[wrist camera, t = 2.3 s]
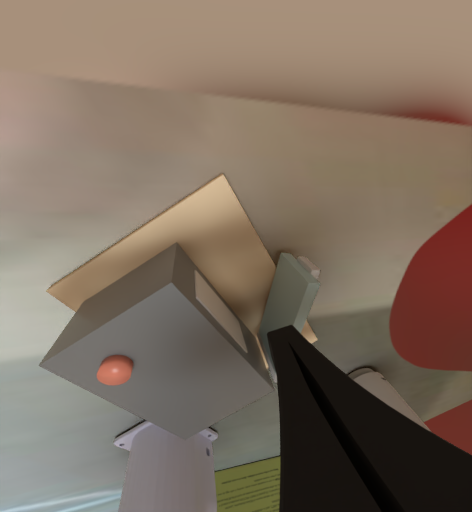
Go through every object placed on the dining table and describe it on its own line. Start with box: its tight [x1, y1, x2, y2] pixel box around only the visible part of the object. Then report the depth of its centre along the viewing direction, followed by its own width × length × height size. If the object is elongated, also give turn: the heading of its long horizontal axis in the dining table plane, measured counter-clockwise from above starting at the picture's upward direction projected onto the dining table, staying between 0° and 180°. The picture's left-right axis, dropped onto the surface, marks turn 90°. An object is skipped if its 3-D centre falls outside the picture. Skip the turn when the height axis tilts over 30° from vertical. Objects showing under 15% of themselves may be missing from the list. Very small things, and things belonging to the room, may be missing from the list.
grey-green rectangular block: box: [257, 253, 321, 383], centre depth 16 cm, size 9×2×4 cm, turn 170°
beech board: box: [46, 174, 317, 368], centre depth 18 cm, size 19×14×1 cm
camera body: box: [39, 242, 274, 440], centre depth 15 cm, size 13×8×6 cm, turn 30°
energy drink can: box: [348, 368, 431, 432], centre depth 22 cm, size 6×6×15 cm
